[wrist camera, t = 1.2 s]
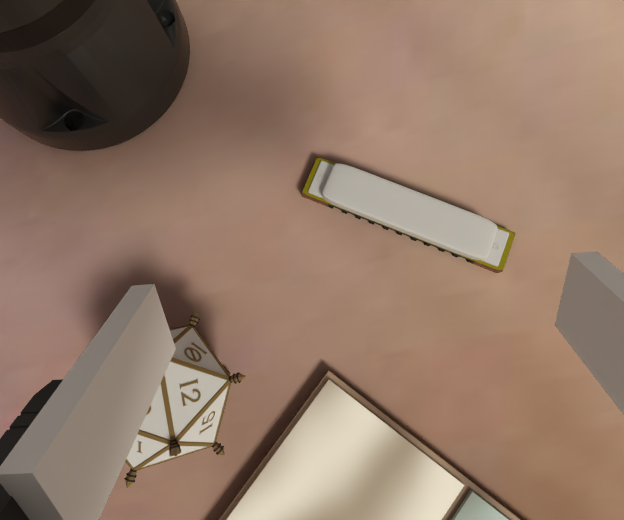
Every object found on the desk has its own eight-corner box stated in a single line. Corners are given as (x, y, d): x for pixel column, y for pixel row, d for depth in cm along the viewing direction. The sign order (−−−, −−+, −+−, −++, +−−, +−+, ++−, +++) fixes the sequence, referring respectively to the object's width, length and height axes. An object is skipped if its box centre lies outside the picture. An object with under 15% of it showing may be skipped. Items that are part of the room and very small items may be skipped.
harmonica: (508, 234, 30) (522, 227, 28) (494, 274, 29) (507, 270, 27) (317, 160, 31) (317, 149, 29) (301, 198, 30) (300, 189, 28)
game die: (178, 393, 32) (26, 442, 24) (202, 288, 30) (46, 302, 22) (260, 468, 27) (102, 561, 19) (296, 347, 25) (137, 394, 17)
